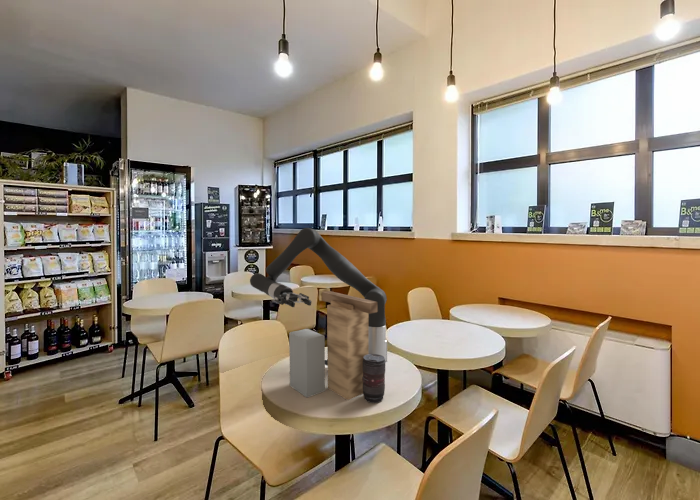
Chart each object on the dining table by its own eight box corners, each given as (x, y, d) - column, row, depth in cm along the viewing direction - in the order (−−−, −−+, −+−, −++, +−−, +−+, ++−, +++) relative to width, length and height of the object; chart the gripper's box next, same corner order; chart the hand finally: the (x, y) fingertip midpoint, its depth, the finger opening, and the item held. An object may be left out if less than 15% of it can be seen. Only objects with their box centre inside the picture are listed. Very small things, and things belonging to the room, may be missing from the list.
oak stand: (348, 380, 137) (347, 297, 135) (368, 391, 128) (368, 302, 126) (327, 388, 131) (327, 301, 129) (347, 400, 121) (347, 306, 119)
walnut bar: (326, 298, 141) (326, 287, 141) (378, 311, 118) (378, 299, 118) (318, 299, 138) (318, 289, 138) (369, 313, 115) (369, 300, 115)
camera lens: (384, 405, 118) (384, 362, 117) (360, 402, 120) (360, 360, 119) (386, 394, 126) (386, 354, 125) (364, 392, 127) (364, 352, 127)
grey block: (307, 380, 138) (306, 328, 136) (325, 390, 129) (324, 335, 127) (289, 385, 133) (289, 332, 131) (306, 397, 123) (306, 340, 122)
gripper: (267, 285, 147) (289, 296, 136) (294, 284, 157) (317, 294, 146) (265, 301, 148) (287, 314, 137) (292, 299, 158) (314, 311, 147)
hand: (302, 304), depth 141 cm, fingers open, 8 cm apart
